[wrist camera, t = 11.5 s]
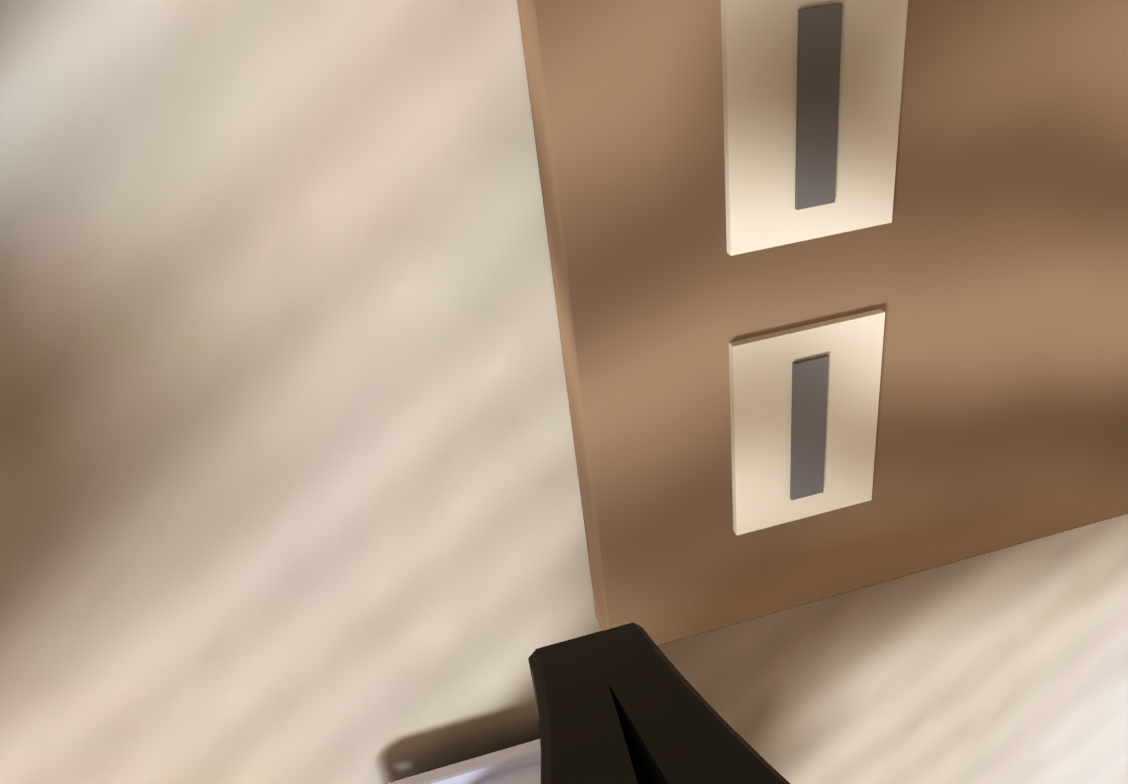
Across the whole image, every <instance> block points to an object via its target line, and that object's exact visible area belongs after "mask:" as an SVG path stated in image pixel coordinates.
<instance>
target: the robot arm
mask: <svg viewBox="0 0 1128 784" xmlns="http://www.w3.org/2000/svg"><path fill="white" fill-rule="evenodd" d="M528 659H529V665H530V670H531V675H532V681H533V686H534V692H535V697H536V702H537V708H538V713H539V724H540V739H537V740H534V741H530V742H527V743H523V744H520V745H517V746H513V747H510V748H506V749H503V750H499V751H496V752H493V753H489V754H486V755H482V756H479V757H475V758H472V759H469V760H465V761H462V762H458V763H455V764H451V765H448V766H445V767H441V768H438V769H434V770H431V771H428V772H424V773H421V774H417V775H414V776H410V777H407V778H404V779H400V780H397V781H393V782H390V783H386V784H790V783H789V782H788V781H787V780H786V779H785V778H783V777H782V776H781V775H780V774H779V773H778V772H777V771H776V770H775V769H774V768H773V767H772V766H771V765H769V764H768V763H767V762H766V761H765V760H764V759H763V758H762V757H761V756H760V755H759V754H758V753H757V752H756V751H755V750H754V749H753V748H752V747H751V746H750V745H749V744H748V743H747V742H746V741H745V740H744V739H743V738H742V737H741V736H740V735H739V734H738V733H737V732H736V731H735V730H734V729H732V728H731V727H730V726H729V725H728V724H727V723H726V722H725V721H724V720H723V719H722V718H721V717H720V715H719V714H718V713H717V712H716V711H715V710H714V709H713V708H712V707H711V706H710V705H709V704H708V703H707V702H706V701H705V700H704V699H703V698H702V697H701V695H700V694H699V693H698V692H697V691H696V690H695V689H694V688H693V687H692V686H691V685H690V683H689V682H688V681H687V680H686V679H685V678H684V677H683V676H682V675H681V673H680V672H679V671H678V670H677V669H676V668H675V667H674V666H673V664H672V663H671V662H670V661H669V660H668V658H667V657H666V656H665V655H664V654H663V653H662V651H661V650H660V649H659V648H658V646H657V645H656V644H655V643H654V642H653V640H652V639H651V638H650V636H649V635H648V634H647V633H646V631H645V630H644V629H643V627H641V626H639V625H637V624H636V623H634V622H633V623H629V624H625V625H622V626H618V627H615V628H611V629H607V630H604V631H600V632H596V633H593V634H589V635H585V636H582V637H578V638H575V639H571V640H567V641H564V642H560V643H556V644H553V645H549V646H545V647H542V648H538V649H536V650H535V651H534V652H533V654H532V655H531V656H530V657H529V658H528Z"/></svg>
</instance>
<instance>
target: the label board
mask: <svg viewBox="0 0 1128 784" xmlns="http://www.w3.org/2000/svg"><path fill="white" fill-rule="evenodd" d="M517 1H518V9H519V17H520V25H521V33H522V40H523V48H524V56H525V64H526V72H527V79H528V87H529V95H530V103H531V111H532V118H533V126H534V134H535V142H536V150H537V157H538V165H539V173H540V181H541V189H542V196H543V204H544V212H545V220H546V228H547V235H548V243H549V251H550V259H551V267H552V274H553V282H554V290H555V298H556V306H557V313H558V321H559V329H560V337H561V345H562V352H563V360H564V368H565V376H566V384H567V391H568V399H569V407H570V415H571V422H572V430H573V438H574V446H575V454H576V461H577V469H578V477H579V485H580V493H581V500H582V508H583V516H584V524H585V532H586V539H587V547H588V555H589V563H590V571H591V578H592V586H593V594H594V602H595V610H596V617H597V620H598V622H599V624H600V627H601V629H602V631H604V630H607V629H611V628H615V627H618V626H622V625H625V624H629V623H633V622H634V623H636V624H637V625H639V626H641V627H643V629H644V630H645V631H646V633H647V634H648V635H649V636H650V638H651V639H652V640H653V642H654V643H655V644H656V645H661V644H664V643H668V642H672V641H675V640H679V639H682V638H686V637H689V636H693V635H697V634H700V633H704V632H707V631H711V630H714V629H718V628H721V627H725V626H729V625H732V624H736V623H739V622H743V621H746V620H750V619H754V618H757V617H761V616H764V615H768V614H771V613H775V612H779V611H782V610H786V609H789V608H793V607H796V606H800V605H803V604H807V603H811V602H814V601H818V600H821V599H825V598H828V597H832V596H836V595H839V594H843V593H846V592H850V591H853V590H857V589H860V588H864V587H868V586H871V585H875V584H878V583H882V582H885V581H889V580H893V579H896V578H900V577H903V576H907V575H910V574H914V573H917V572H921V571H925V570H928V569H932V568H935V567H939V566H942V565H946V564H950V563H953V562H957V561H960V560H964V559H967V558H971V557H975V556H978V555H982V554H985V553H989V552H992V551H996V550H999V549H1003V548H1007V547H1010V546H1014V545H1017V544H1021V543H1024V542H1028V541H1032V540H1035V539H1039V538H1042V537H1046V536H1049V535H1053V534H1056V533H1060V532H1064V531H1067V530H1071V529H1074V528H1078V527H1081V526H1085V525H1089V524H1092V523H1096V522H1099V521H1103V520H1106V519H1110V518H1113V517H1117V516H1121V515H1124V514H1128V0H517Z"/></svg>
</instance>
